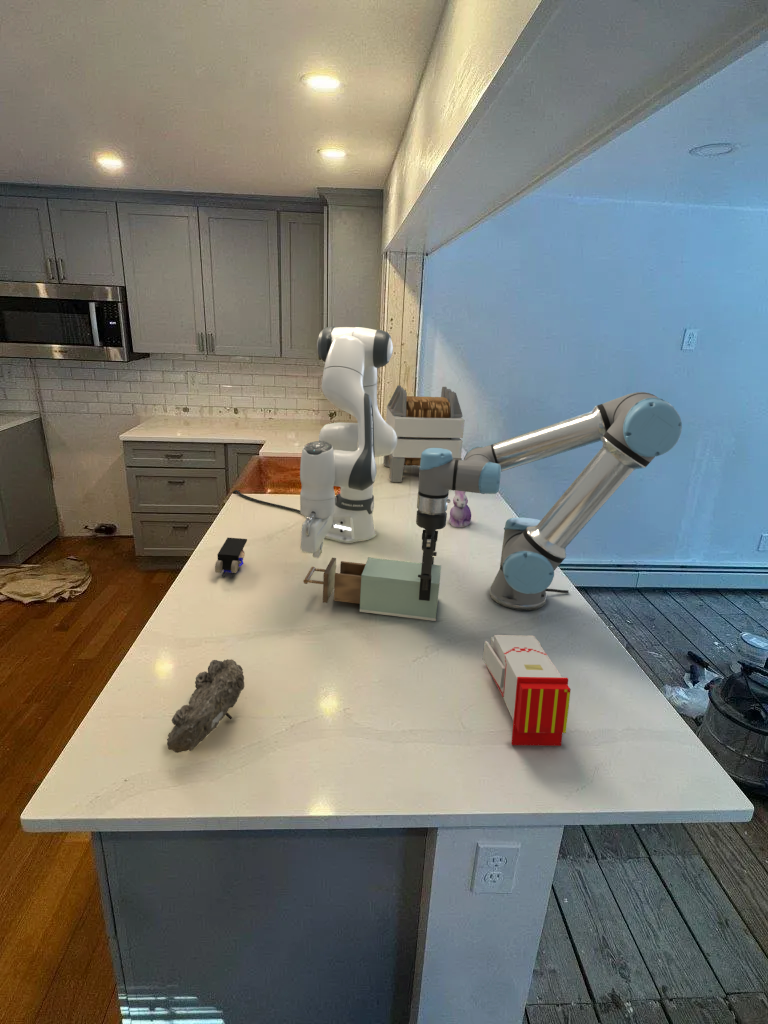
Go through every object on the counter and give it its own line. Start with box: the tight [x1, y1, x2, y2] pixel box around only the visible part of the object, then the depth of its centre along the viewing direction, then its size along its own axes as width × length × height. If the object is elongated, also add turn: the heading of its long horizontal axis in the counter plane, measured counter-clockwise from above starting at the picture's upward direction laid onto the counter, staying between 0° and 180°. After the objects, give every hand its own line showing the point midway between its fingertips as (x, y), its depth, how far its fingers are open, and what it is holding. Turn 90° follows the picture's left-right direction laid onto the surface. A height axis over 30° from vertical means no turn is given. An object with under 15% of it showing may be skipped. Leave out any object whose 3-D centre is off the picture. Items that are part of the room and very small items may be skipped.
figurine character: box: [214, 537, 248, 578], centre depth 166 cm, size 7×8×15 cm
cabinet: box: [359, 556, 442, 622], centre depth 149 cm, size 20×11×11 cm, turn 83°
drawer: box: [302, 557, 366, 605], centre depth 151 cm, size 24×10×8 cm, turn 83°
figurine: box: [448, 490, 472, 528], centre depth 209 cm, size 9×10×15 cm
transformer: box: [383, 384, 465, 483], centre depth 268 cm, size 34×33×41 cm
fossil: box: [166, 658, 245, 754], centre depth 106 cm, size 22×10×15 cm
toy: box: [482, 634, 572, 747], centre depth 115 cm, size 12×13×30 cm
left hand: (317, 555), depth 150 cm, fingers closed
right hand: (425, 589), depth 149 cm, fingers closed on cabinet, 11 cm apart
